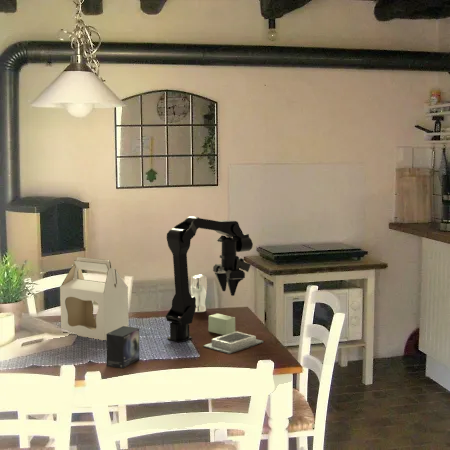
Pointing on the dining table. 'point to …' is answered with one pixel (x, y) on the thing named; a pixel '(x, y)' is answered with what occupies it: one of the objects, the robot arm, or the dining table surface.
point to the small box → (122, 347)
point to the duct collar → (233, 342)
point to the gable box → (93, 291)
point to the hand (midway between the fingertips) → (228, 293)
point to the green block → (221, 324)
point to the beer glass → (199, 291)
